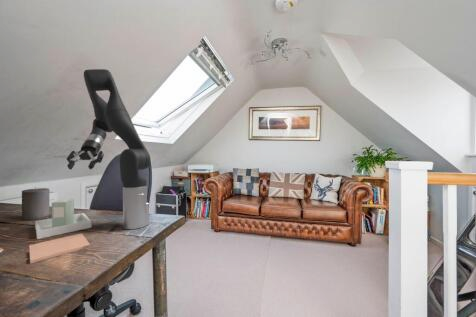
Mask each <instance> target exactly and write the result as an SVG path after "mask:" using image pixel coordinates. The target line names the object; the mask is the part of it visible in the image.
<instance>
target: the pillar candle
mask: <svg viewBox="0 0 476 317" xmlns="http://www.w3.org/2000/svg"><path fill="white" fill-rule="evenodd" d="M48 216H50V188H47V187H46V188H45V187H42V188H41V187H39V188H37V187H36V186H35V187H34V188H28V189H24V190H21V220H22V221H23V220H24V222H26V221H27V222H28V221H35V220H36V221H37V219H40V218H44V217H48Z"/></svg>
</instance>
